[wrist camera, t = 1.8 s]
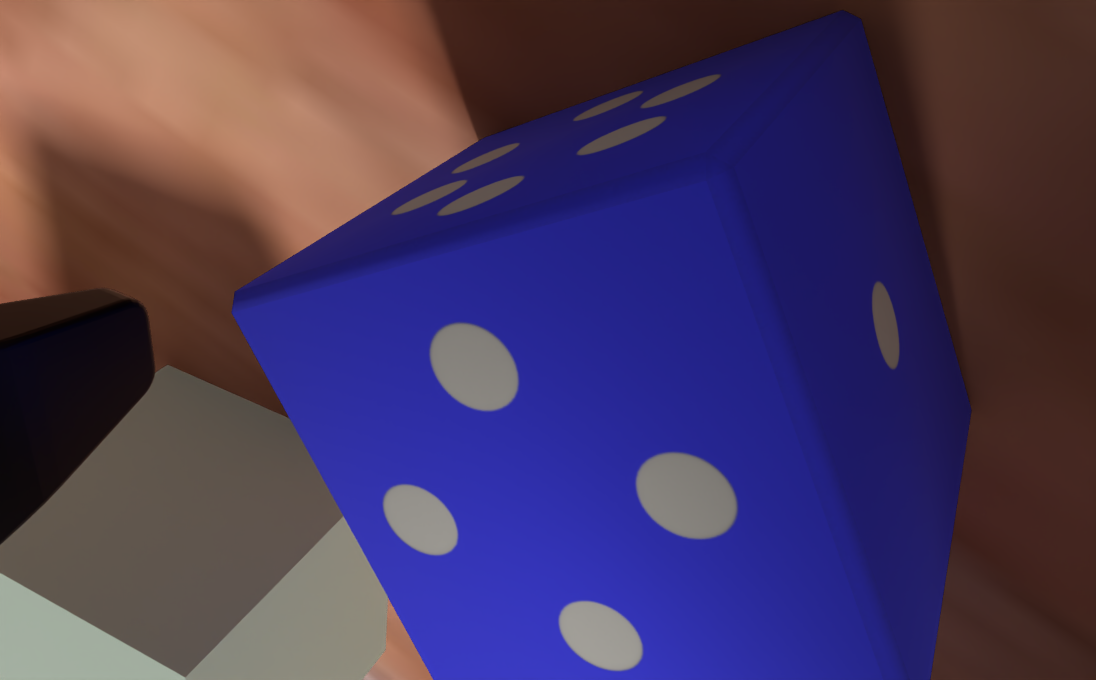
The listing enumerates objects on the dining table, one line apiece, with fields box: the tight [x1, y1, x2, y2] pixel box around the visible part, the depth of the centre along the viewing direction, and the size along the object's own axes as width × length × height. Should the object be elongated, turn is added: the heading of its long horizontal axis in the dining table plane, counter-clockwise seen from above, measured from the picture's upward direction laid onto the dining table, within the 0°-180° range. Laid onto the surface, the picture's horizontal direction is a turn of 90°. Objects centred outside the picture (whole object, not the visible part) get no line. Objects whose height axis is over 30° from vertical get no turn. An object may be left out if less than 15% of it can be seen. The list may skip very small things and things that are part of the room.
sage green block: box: [0, 365, 388, 680], centre depth 16 cm, size 5×5×5 cm
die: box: [232, 10, 971, 680], centre depth 10 cm, size 5×5×5 cm
